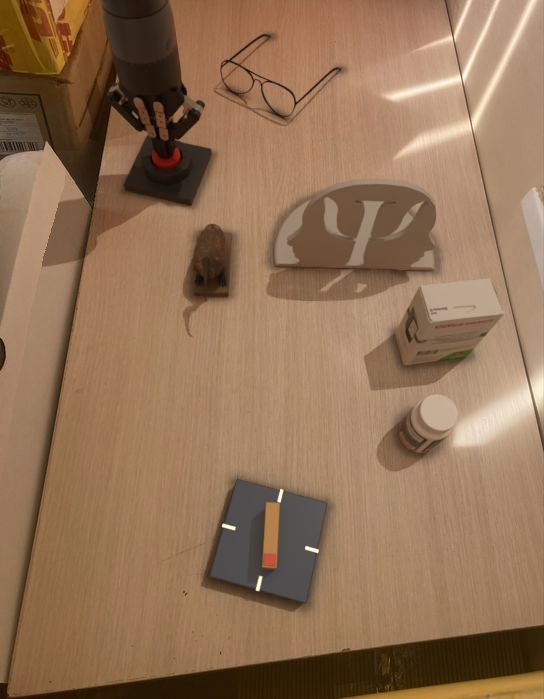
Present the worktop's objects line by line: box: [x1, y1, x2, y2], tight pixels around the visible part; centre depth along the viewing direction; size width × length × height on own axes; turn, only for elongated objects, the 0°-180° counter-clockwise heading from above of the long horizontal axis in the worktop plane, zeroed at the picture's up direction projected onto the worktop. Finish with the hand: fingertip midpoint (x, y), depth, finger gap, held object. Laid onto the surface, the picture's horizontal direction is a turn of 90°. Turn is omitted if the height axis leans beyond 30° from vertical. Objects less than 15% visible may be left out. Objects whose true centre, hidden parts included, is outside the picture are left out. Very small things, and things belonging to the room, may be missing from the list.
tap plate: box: [209, 478, 328, 604], centre depth 57 cm, size 10×10×3 cm
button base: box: [123, 134, 213, 206], centre depth 78 cm, size 10×10×3 cm
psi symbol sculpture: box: [273, 177, 437, 271], centre depth 68 cm, size 22×13×17 cm, turn 89°
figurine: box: [192, 223, 232, 302], centre depth 68 cm, size 14×4×9 cm, turn 0°
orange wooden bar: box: [262, 502, 280, 570], centre depth 53 cm, size 6×1×4 cm, turn 177°
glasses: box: [219, 33, 342, 118], centre depth 87 cm, size 14×15×5 cm
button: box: [152, 147, 181, 170], centre depth 77 cm, size 4×4×2 cm
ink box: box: [394, 277, 506, 366], centre depth 63 cm, size 9×5×12 cm, turn 98°
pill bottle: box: [398, 393, 459, 454], centre depth 60 cm, size 5×5×8 cm
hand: (165, 153), depth 76 cm, fingers closed
